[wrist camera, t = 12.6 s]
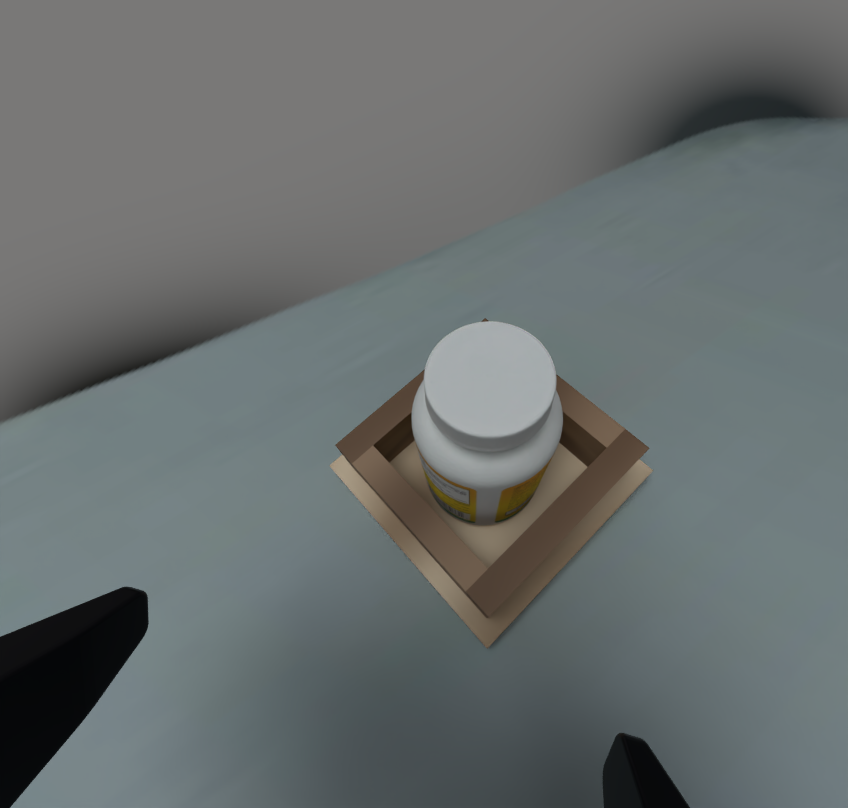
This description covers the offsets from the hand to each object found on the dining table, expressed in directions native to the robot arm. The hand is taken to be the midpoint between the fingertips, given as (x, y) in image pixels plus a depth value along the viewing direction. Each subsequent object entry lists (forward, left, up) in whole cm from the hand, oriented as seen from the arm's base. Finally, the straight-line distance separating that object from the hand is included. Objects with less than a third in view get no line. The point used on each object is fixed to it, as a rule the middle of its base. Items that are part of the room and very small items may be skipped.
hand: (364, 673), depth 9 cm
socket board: (+4, -7, -13) cm, 16 cm away
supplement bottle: (+4, -7, -12) cm, 15 cm away
